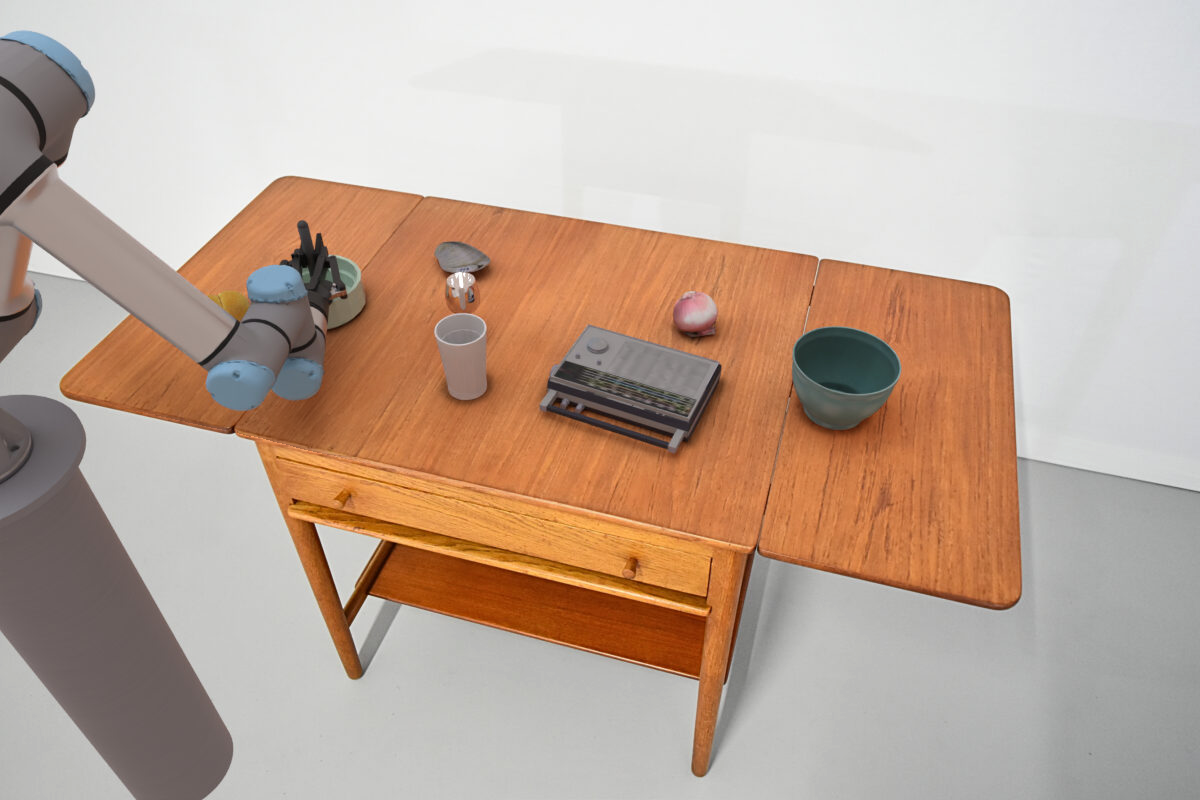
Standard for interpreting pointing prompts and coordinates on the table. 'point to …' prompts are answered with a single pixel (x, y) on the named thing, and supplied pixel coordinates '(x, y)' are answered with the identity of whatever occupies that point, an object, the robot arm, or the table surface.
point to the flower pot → (843, 375)
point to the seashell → (460, 257)
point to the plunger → (309, 250)
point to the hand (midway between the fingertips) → (313, 240)
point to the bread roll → (232, 303)
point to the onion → (695, 314)
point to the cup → (463, 354)
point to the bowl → (356, 299)
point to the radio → (632, 386)
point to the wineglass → (462, 293)
